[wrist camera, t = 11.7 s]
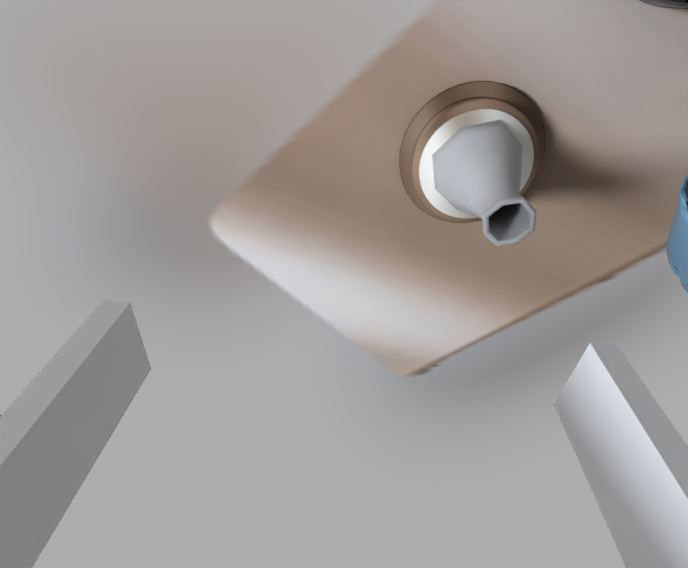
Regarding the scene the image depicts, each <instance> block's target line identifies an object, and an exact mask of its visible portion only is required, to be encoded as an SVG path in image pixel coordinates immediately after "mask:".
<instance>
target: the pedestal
mask: <svg viewBox="0 0 688 568" xmlns="http://www.w3.org/2000/svg"><path fill="white" fill-rule="evenodd" d="M496 120H500V121H501V122H502V123H503V124H504V125H505V127H506V128H507V129H508V130H509V131H510V132H511V133H512V135H513V136H514V137H515V138H516V139H517V140H518V141H519V142H520V144H521V145H522V168H521V185H520V189H519V191H520V195H521V196H522V195H523V194H524V193H525V192H526V190H527V189H528V188H529V186H530V185H531V184H532V182H533V180H534V179H535V177H536V175H537V173H538V171H539V168H540V166H541V163H542V159H543V155H544V149H545V135H544V128H543V125H542V121H541V118H540V116H539V114H538V112H537V110H536V109H535V107H534V106H533V104H532V103H531V102H530V101H529V100H528V99H527V98H526V97H525V96H523V95H522V94H521V93H519V92H518V91H516V90H515V89H513V88H511V87H509V86H507V85H503V84H500V83H496V82H490V81H474V82H467V83H463V84H460V85H456V86H454V87H452V88H449V89H447V90H445V91H443V92H442V93H440V94H438V95H437V96H435V97H434V98H433V99H431V100H430V101H429V102H428V103H427V104H426V105H425V106H423V107H422V108H421V110H420V111H419V112H418V113H417V114H416V116H415V117H414V119H413V120H412V122H411V123H410V125H409V127H408V129H407V131H406V133H405V135H404V138H403V141H402V145H401V150H400V159H399V163H400V173H401V179H402V182H403V185H404V188H405V190H406V192H407V194H408V195H409V197H410V198H411V200H412V201H413V202H414V203H415V204H416V205H417V207H419V208H420V209H421V210H422V211H424V212H425V213H427V214H428V215H430V216H432V217H434V218H437V219H439V220H443V221H447V222H453V223H467V222H475V221H480V220H482V219H481V218H478V217H476V216H473V215H471V214H468V213H464V212H461V211H458V210H457V209H456V208H455V207H453V206H452V205H451V204H450V203H449V202H448V201H447V200H446V199H445V198H444V197H443V196H442V195H441V194H440V193H439V192H438V191H437V190H436V189H435V184H434V172H433V161H432V155H433V154H434V153H435V152H436V151H437V150H438V149H439V148H440V147H441V146H442V145H443V144H444V143H445V142H446V141H447V140H448V139H449V138H450V137H451V136H452V135H453V134H454V133H455V132H456V131H457V130H458V129H459V128H461V127H466V126H471V125H476V124H481V123H486V122H491V121H496Z"/></svg>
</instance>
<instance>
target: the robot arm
mask: <svg viewBox="0 0 688 568" xmlns="http://www.w3.org/2000/svg"><path fill="white" fill-rule="evenodd" d="M640 1H642V2H644V3H647V4H651V5H655V6H660V7H676V8H688V0H640ZM667 255H668V260H669V263H670V266H671V268H672V269H673V271H674V273H675V274H676V275H677V276H678V277H679V278H680V281H681V285H682V286H683V288H684V289H685V290H686V291H687V292H688V175H687V176H686V177H685V179H684V181H683V183H682V184H681V187H680V191H679V206H678V209H677V212H676V215H675V218H674V221H673V224H672V227H671V230H670V233H669V236H668V241H667ZM150 370H151V367H150V364H149V361H148V357H147V354H146V351H145V348H144V345H143V342H142V339H141V335H140V332H139V329H138V326H137V323H136V320H135V317H134V314H133V311H132V307H131V304H130V303H128V302H117V301H105V300H104V301H102V303H101V304H100V305H99V306H98V307H97V308H96V310H95V311H94V312H93V313H92V314H91V315H90V316H89V317H88V318H87V319H86V321H85V322H84V323H83V324H82V325H81V326H80V327H79V328H78V330H77V331H76V332H75V333H74V334H73V335H72V336H71V337H70V339H69V340H68V341H67V342H66V343H65V344H64V345H63V347H62V348H61V349H60V350H59V351H58V352H57V353H56V354H55V355H54V357H53V358H52V359H51V360H50V361H49V362H48V363H47V365H46V366H45V367H44V368H43V369H42V370H41V372H39V373H38V375H37V376H36V377H35V378H34V379H33V380H32V381H31V383H30V384H29V385H28V386H27V387H26V388H25V389H24V390H23V392H22V393H21V394H20V395H19V396H18V397H17V398H16V399H15V400H14V402H13V403H12V404H11V405H10V406H9V407H8V408H7V410H6V411H5V412H4V413H3V414H2V415H0V568H32V567H33V565H34V564H35V562H36V560H37V559H38V557H39V555H40V554H41V552H42V550H43V549H44V547H45V545H46V543H47V542H48V540H49V539H50V537H51V535H52V534H53V532H54V530H55V529H56V527H57V525H58V523H59V522H60V520H61V519H62V517H63V515H64V513H65V512H66V510H67V508H68V507H69V505H70V503H71V502H72V500H73V498H74V497H75V495H76V493H77V492H78V490H79V488H80V486H81V485H82V483H83V482H84V480H85V478H86V476H87V475H88V473H89V472H90V470H91V468H92V467H93V465H94V463H95V462H96V460H97V458H98V457H99V455H100V453H101V452H102V450H103V448H104V446H105V445H106V443H107V441H108V440H109V438H110V437H111V435H112V433H113V431H114V430H115V428H116V426H117V425H118V423H119V421H120V420H121V418H122V416H123V415H124V413H125V411H126V410H127V408H128V406H129V404H130V403H131V401H132V400H133V398H134V396H135V395H136V393H137V391H138V390H139V388H140V386H141V385H142V383H143V381H144V380H145V378H146V376H147V375H148V373H149V371H150ZM554 406H555V408H556V411H557V413H558V415H559V417H560V420H561V422H562V424H563V426H564V429H565V431H566V433H567V435H568V438H569V440H570V442H571V444H572V447H573V449H574V451H575V453H576V456H577V458H578V460H579V463H580V465H581V467H582V469H583V472H584V474H585V476H586V478H587V481H588V483H589V485H590V487H591V490H592V492H593V494H594V496H595V499H596V501H597V503H598V505H599V508H600V510H601V512H602V514H603V517H604V519H605V521H606V523H607V526H608V528H609V530H610V533H611V534H612V537H613V539H614V541H615V544H616V546H617V548H618V550H619V553H620V555H621V557H622V560H623V562H624V564H625V566H626V568H688V446H687V444H686V443H685V441H684V440H683V439H682V437H681V436H680V434H679V433H678V432H677V430H676V429H675V427H674V426H673V424H672V423H671V422H670V420H669V419H668V417H667V416H666V414H665V413H664V411H663V410H662V409H661V407H660V406H659V404H658V403H657V401H656V400H655V399H654V397H653V396H652V394H651V393H650V391H649V390H648V389H647V387H646V386H645V384H644V383H643V381H642V380H641V379H640V377H639V376H638V375H637V373H636V371H635V370H634V369H633V367H632V366H631V364H630V363H629V362H628V360H627V359H626V357H625V356H624V354H623V353H622V351H621V350H620V349H619V347H618V346H617V345H606V344H595V343H590V344H589V346H588V348H587V349H586V351H585V353H584V354H583V356H582V358H581V360H580V361H579V363H578V365H577V366H576V368H575V370H574V371H573V373H572V375H571V377H570V378H569V380H568V382H567V383H566V385H565V387H564V388H563V390H562V392H561V393H560V395H559V397H558V399H557V400H556V402H555V404H554Z"/></svg>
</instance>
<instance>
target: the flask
mask: <svg viewBox="0 0 688 568" xmlns="http://www.w3.org/2000/svg"><path fill="white" fill-rule="evenodd" d="M432 161H433V172H434V184H435V189H436V190H437V191H438V192H439V193H440V194H441V195H442V196H443V197H444V198H445V199H446V200H447V201H448V202H449V203H450V204H451V205H452V206H453V207H455V208H456V209H457V210H458V211H461V212H464V213H468V214H471V215H473V216H476V217H478V218H481V219H482V220H483V234H484V235H485V236H486V237H487V238H488V239H489V240H490V241H491V242H493V243H494V244H495V245H496V246H502V245H509V244H516V243H518V242H520V241H521V240H522V239H524V238H525V237H527V236H528V235H529V234H531V233H532V232H533V231H535V223H536V210H535V209H534V208H533V207H532V206H531V205H530V204H529V203H528V202H527V201H526V200H525V198H524V197H523V196H521V195H520V191H519V189H520V185H521V168H522V145H521V144H520V142H519V141H518V140H517V139H516V138H515V137H514V136H513V135H512V133H511V132H510V131H509V130H508V129H507V128H506V127H505V125H504V124H503V123H502V122H501V121H500V120H496V121H491V122H486V123H481V124H476V125H471V126H466V127H461V128H459V129H458V130H457V131H456V132H455V133H454V134H453V135H452V136H451V137H450V138H449V139H448V140H447V141H446V142H445V143H444V144H443V145H442V146H441V147H440V148H439V149H438V150H437V151H436V152H435V153H434V154H433V155H432Z"/></svg>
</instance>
